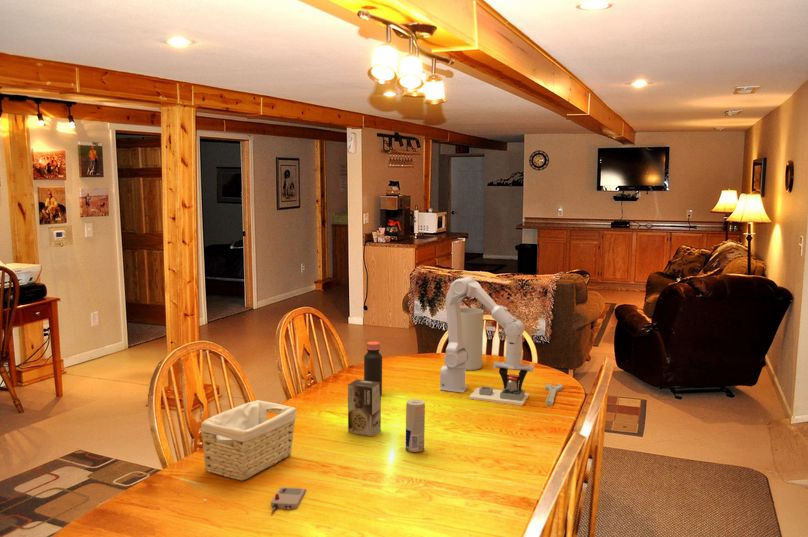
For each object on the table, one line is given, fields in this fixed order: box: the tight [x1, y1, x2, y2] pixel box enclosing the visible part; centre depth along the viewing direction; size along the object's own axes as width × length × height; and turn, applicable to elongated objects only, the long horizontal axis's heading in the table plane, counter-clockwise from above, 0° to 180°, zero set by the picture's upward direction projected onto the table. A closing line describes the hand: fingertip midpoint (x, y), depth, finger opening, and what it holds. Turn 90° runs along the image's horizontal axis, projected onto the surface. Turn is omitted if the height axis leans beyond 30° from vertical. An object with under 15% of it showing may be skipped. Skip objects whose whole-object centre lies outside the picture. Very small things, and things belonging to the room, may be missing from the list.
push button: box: [506, 373, 519, 395], centre depth 255 cm, size 5×5×7 cm
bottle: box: [363, 341, 383, 396], centre depth 258 cm, size 7×7×20 cm
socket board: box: [468, 385, 530, 407], centre depth 258 cm, size 20×12×3 cm, turn 70°
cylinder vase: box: [460, 307, 484, 371], centre depth 298 cm, size 12×12×25 cm
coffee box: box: [347, 378, 382, 437], centre depth 221 cm, size 9×6×16 cm
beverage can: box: [405, 398, 426, 453], centre depth 206 cm, size 6×6×15 cm
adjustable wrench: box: [544, 383, 564, 407], centre depth 262 cm, size 25×6×2 cm, turn 158°
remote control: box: [270, 486, 307, 514], centre depth 173 cm, size 7×16×3 cm, turn 175°
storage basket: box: [200, 399, 297, 481], centre depth 195 cm, size 24×16×15 cm
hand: (512, 388), depth 256 cm, fingers closed on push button, 5 cm apart
